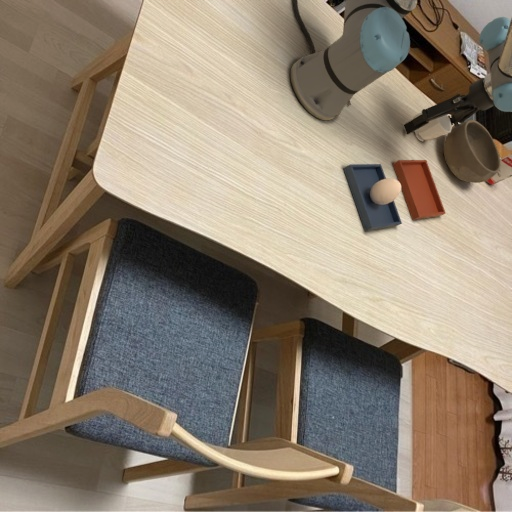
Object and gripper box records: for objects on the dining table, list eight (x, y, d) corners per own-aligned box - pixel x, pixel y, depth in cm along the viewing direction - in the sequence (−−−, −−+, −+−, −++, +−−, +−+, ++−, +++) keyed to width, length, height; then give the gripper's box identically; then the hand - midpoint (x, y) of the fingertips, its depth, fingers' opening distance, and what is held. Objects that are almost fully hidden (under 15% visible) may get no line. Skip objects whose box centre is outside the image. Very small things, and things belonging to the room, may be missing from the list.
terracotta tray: (392, 163, 144) (399, 160, 142) (419, 163, 153) (426, 159, 152) (412, 220, 142) (419, 217, 140) (439, 216, 151) (445, 213, 149)
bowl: (432, 124, 165) (463, 107, 158) (467, 149, 175) (497, 134, 168) (437, 175, 158) (470, 159, 150) (474, 198, 167) (506, 184, 160)
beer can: (486, 186, 175) (537, 164, 164) (478, 167, 176) (528, 144, 165) (494, 184, 180) (544, 162, 168) (486, 165, 180) (536, 143, 169)
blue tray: (343, 168, 130) (350, 164, 128) (374, 167, 138) (381, 164, 136) (364, 231, 127) (372, 227, 126) (394, 226, 136) (402, 223, 134)
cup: (427, 150, 158) (452, 137, 152) (404, 132, 153) (430, 118, 147) (426, 131, 161) (451, 117, 156) (404, 112, 156) (429, 97, 151)
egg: (376, 188, 135) (403, 174, 129) (382, 209, 133) (410, 196, 128) (361, 185, 131) (389, 171, 125) (367, 208, 130) (395, 194, 124)
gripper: (473, 100, 132) (398, 142, 148) (516, 106, 149) (445, 143, 164) (462, 71, 133) (389, 115, 149) (506, 81, 150) (436, 119, 166)
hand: (418, 130), depth 157 cm, fingers open, 12 cm apart
